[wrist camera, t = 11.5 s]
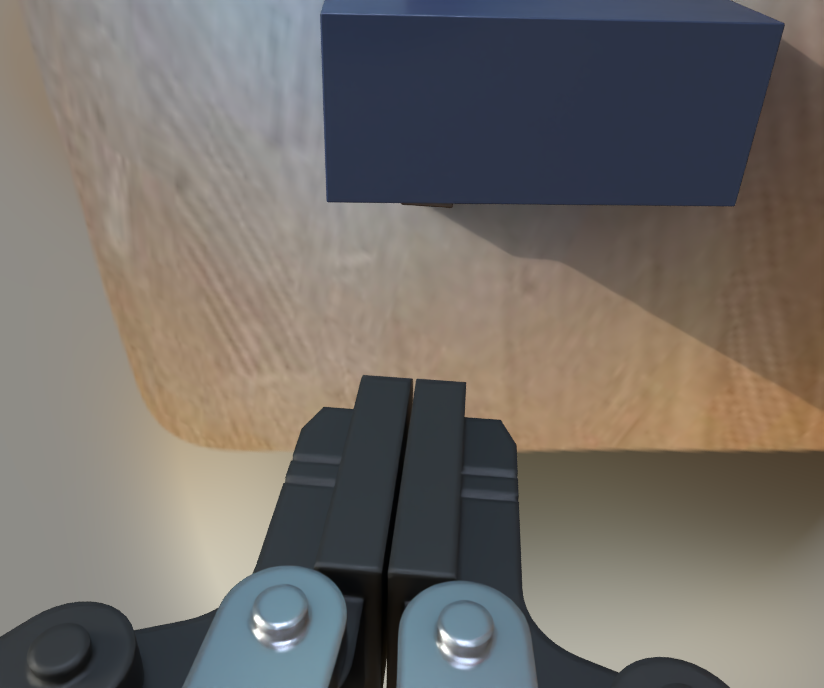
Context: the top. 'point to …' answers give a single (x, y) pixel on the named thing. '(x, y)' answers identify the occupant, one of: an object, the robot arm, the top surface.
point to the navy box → (542, 100)
